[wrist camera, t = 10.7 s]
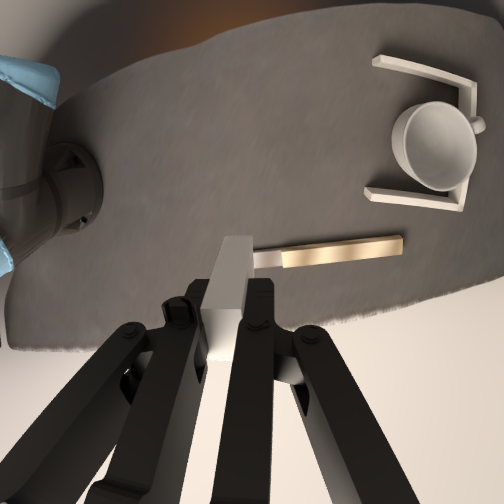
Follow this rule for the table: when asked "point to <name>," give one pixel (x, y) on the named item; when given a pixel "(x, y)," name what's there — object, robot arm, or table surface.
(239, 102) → the table surface
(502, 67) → the table surface
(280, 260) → the birch bar
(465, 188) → the tray
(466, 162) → the teacup
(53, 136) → the table surface
